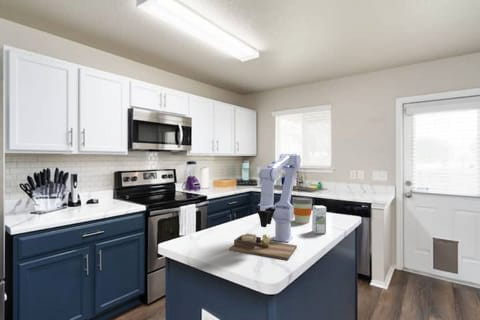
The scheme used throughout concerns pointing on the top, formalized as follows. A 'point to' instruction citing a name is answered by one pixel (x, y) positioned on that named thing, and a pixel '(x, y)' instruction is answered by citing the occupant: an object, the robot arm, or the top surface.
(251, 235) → the cream block with stem
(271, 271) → the top surface
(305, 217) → the reusable coffee cup
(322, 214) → the syrup box
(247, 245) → the walnut lane shelf
